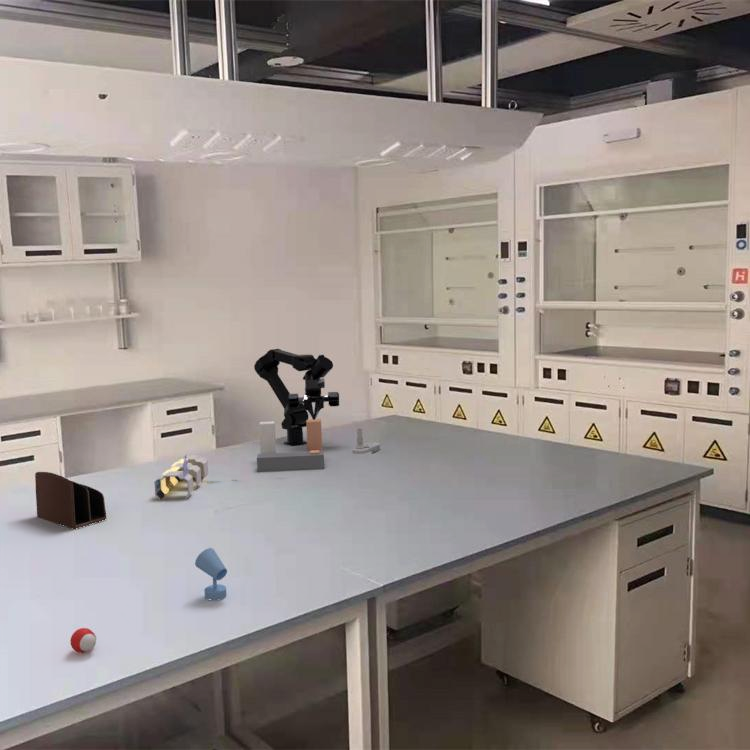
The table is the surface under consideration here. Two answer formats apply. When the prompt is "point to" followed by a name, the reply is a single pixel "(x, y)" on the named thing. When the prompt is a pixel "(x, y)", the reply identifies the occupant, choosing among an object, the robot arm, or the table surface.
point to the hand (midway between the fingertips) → (314, 419)
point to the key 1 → (267, 437)
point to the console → (290, 461)
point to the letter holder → (67, 501)
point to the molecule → (83, 640)
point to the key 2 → (314, 435)
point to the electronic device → (366, 447)
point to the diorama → (182, 474)
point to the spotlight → (212, 573)
